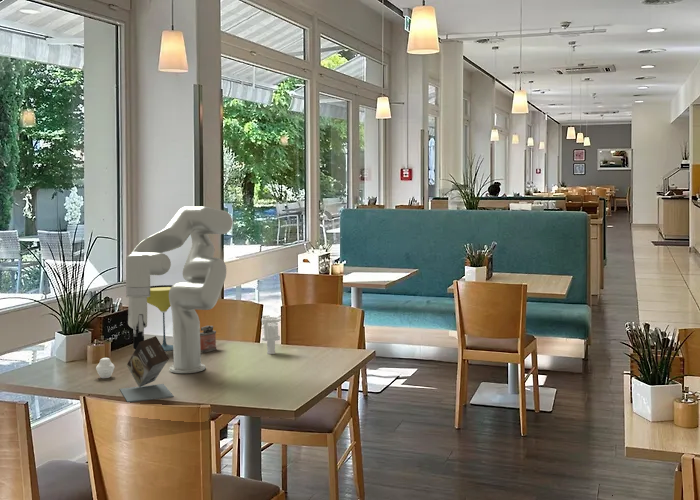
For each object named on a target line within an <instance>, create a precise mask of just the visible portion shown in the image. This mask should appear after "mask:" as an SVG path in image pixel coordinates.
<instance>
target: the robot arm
mask: <svg viewBox="0 0 700 500" xmlns="http://www.w3.org/2000/svg"><path fill="white" fill-rule="evenodd" d="M232 228H233V217H232V216H231V215H230V212H228V211H226V210H223V209H219V208H214V207H209V206H204V205H203V206H202V205H201V206H191V205H190V206H183V207H181V208H179V209H178V210H177V212H176V213H175V214H174V215H173V216H172V217H171V219H170V220H169V222H168V223H167V224H166V225H165V227H164V228H163V229H162V230H160V231H157V232H156V233H154V234H152V235H150V236H148V237H146V238H144V239H143V240H141V241H140V242H139V243H138V244H137V245H136V246H135V247H134V249H133V250H132V251H131V253H130V254H128V255H127V256H126V257H125V258H126V259H125V286H126V287H125V290H126V293H125V295H126V296H125V297H126V298H128V308H127V309H128V310H127V314H128V315H127V325H128V326H129V327H130V328H131V329H133V338H132V348H133V349H134V350H135V349H136V347H137V346H138V344H139V342H141V341H144V340H145V329H146V328H147V327H148V303H147V297H150V286H151V276H163V275H164V274H167V273H168V272H169V270H170V269H171V266H172V263H171V262H172V261H171V258H170V257H169V256H168V255H167V254H166V252H170V251H173V250H176V249H179V248H181V247H183V245H184V244H185V243H186V241H187V240H188V238H189V237H191V243H192V244H191V247H190V251H189V253H188V256H187V258H186V261H185V263H184V265H183V268H182V277H183V279H184V280H185V281H181V282H176V283H174V284H172V285H173V286H172V287H171V288H170V291H169V301H170V305H171V306H170V308H171V317H172V318H171V319H172V343H173V344H172V345H173V350H172V354H173V364H172V365H171V366H169V368H168V369H169V372H171V373H174V374H193V373H200V372H202V371H204V370H205V369H206V365H205V364H204V363H202V361H201V359H202V356H201V353H202V352H200V333H201V322H200V321H201V320H200V317H199V315H198V312H197V311H196V310H202V311H210V310H212V309H213V308H214V307H215V306H216V305H217V302H218V300H219V299H220V295H221V293H222V289H223V287H224V284H225V281H226V277H227V265H226V263H225V261H224V260H223V259H221V258H219V257H214V255H215V251H216V250H215V245H214V243H213V241H212V240H211V238H210V235H225V234H227V233H229V232H230V231H231V229H232Z"/></svg>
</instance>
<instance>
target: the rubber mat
mask: <svg viewBox="0 0 700 500" xmlns="http://www.w3.org/2000/svg"><path fill="white" fill-rule="evenodd" d="M119 391H120V393H121V394H122V397H123V398H124V399H125V401H126V403H135V402H143V401H149V400H151V401H152V400H158V399H159V400H160V399H167V398H174V395H173V393H172V392H171V391H170V389H169V388H168V387H167V386H166V385H165V384H164V383H159V384H151V385H149V384H147V385H144V386H141V387H139V386H132V387H131V386H130V387H124V388H122V387H121V388H119Z"/></svg>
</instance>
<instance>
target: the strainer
mask: <svg viewBox="0 0 700 500" xmlns="http://www.w3.org/2000/svg"><path fill="white" fill-rule="evenodd" d="M261 317H262V318H261V323H262V325H263V335H262V336H261V341H262V342H263V341H264V342H266V346H267V347H266V349H267V352H266V353H267V354H268V355H274V354H276V342H277V341H280V340H281V336H280V335H279V325H278V324H279V323H278V322H281V320H280V319H281V318H280V317H279V316H276V317H275V316H271V315H267V314H263V315H261Z"/></svg>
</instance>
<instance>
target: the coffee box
mask: <svg viewBox="0 0 700 500" xmlns="http://www.w3.org/2000/svg"><path fill="white" fill-rule="evenodd" d="M166 352H167V351H164V349H163V347H162V343H161V342H160V341H159V339H158V337H157V336H156V335H154V336H153V337H150V338H147V339H144V341H141V342H139V344H138V346H137V347H136V349H134V351H133V353H132V355H131V357H130V359H129V360H128V362H127V363H126V367H127V369H128V370H129V372H130V374H131V376H132V377H133V379H134V382H135V383H136V384H137V387H141V386H147V385H149V384H150V383H154V382H155V381H156V379H157V378H158V377H159V375H160V373H161V372H162V370H163V368H164V367H165V366H166V364H167V362H168V361H169V360H170V357H169V356H168V354H167V353H166Z"/></svg>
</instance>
